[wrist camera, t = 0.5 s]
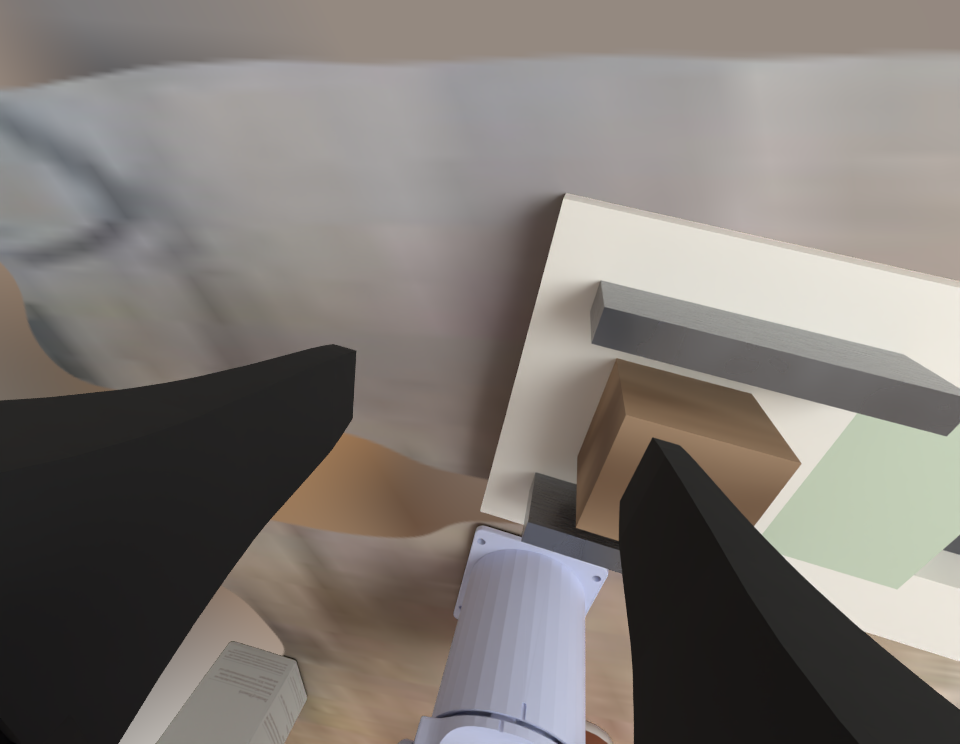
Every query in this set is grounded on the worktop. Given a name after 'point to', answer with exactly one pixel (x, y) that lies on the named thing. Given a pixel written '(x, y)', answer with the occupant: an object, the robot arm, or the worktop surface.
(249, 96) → the worktop surface
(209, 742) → the supplement box
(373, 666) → the worktop surface
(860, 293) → the channel board
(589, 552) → the channel walls
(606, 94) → the worktop surface
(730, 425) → the walnut block
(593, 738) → the coffee cup
